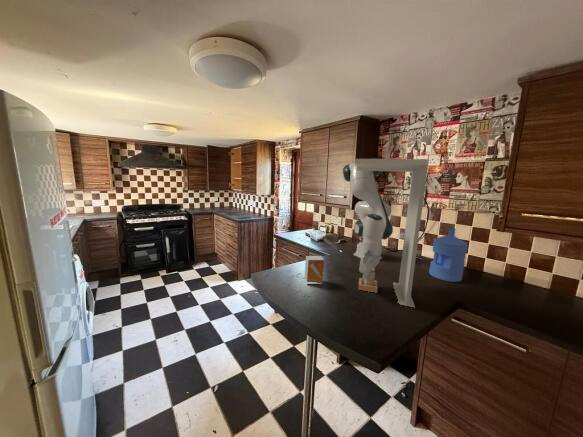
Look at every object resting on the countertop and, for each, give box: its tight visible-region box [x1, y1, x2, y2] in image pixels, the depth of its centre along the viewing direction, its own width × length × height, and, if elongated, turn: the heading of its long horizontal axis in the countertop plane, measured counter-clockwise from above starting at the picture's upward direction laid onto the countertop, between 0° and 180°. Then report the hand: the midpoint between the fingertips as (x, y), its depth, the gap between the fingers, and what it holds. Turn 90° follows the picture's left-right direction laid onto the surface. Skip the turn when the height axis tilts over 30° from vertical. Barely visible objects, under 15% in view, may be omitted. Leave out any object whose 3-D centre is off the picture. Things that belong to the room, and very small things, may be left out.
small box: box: [304, 255, 325, 284], centre depth 114 cm, size 8×6×13 cm
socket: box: [357, 277, 378, 294], centre depth 110 cm, size 8×8×3 cm
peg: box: [362, 270, 376, 286], centre depth 110 cm, size 4×4×9 cm
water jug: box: [428, 227, 468, 283], centre depth 127 cm, size 16×16×28 cm
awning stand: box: [354, 158, 430, 309], centre depth 104 cm, size 22×28×60 cm
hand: (368, 276), depth 109 cm, fingers open, 8 cm apart
